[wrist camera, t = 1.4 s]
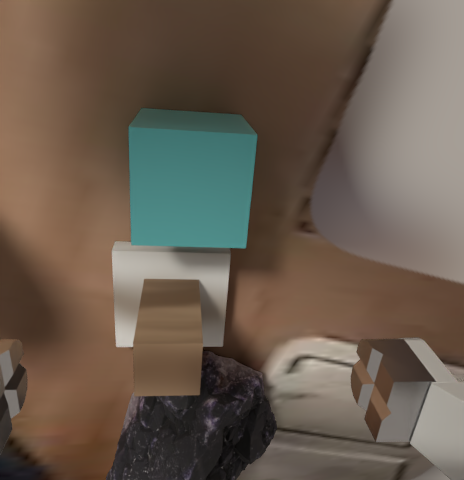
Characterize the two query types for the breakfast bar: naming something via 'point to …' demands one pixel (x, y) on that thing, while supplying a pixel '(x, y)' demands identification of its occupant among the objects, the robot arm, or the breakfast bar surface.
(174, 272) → the square base with post
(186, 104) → the breakfast bar surface
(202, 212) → the turquoise cube
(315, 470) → the breakfast bar surface
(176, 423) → the dark grey rock
